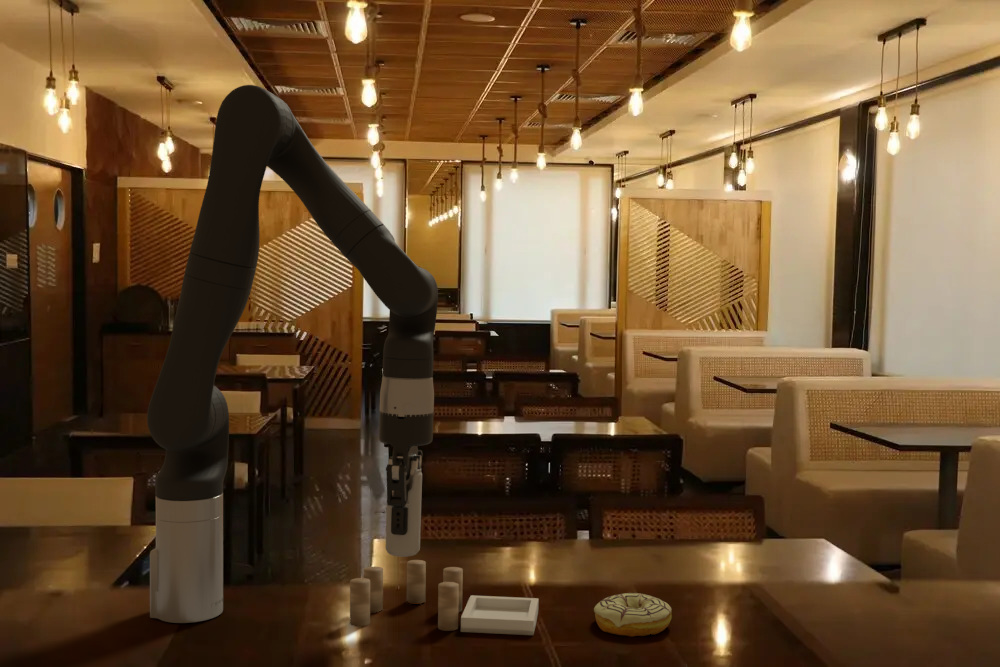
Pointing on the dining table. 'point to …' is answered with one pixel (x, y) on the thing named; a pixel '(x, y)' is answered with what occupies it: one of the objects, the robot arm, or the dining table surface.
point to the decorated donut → (632, 614)
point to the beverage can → (411, 539)
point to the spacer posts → (370, 594)
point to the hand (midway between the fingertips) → (403, 528)
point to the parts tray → (500, 615)
